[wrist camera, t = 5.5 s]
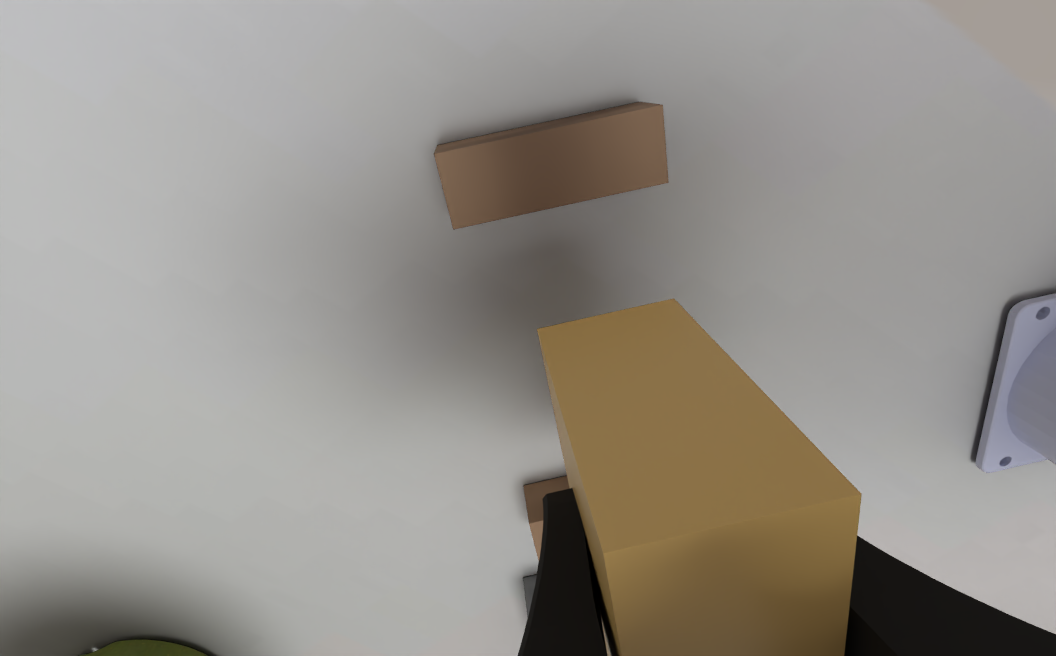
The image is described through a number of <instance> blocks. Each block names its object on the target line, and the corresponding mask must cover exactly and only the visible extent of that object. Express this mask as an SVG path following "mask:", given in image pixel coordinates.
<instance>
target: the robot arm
mask: <svg viewBox="0 0 1056 656" xmlns="http://www.w3.org/2000/svg"><path fill="white" fill-rule="evenodd" d="M1047 459H1049V460H1050V461H1052V462H1053V463H1055V464H1056V293H1054V294H1050V295H1045V296H1041V297H1037V298H1032V299H1028V300H1023V301H1021V302H1018V303H1017V304H1016V305H1014V306H1013V307H1012V308H1011V310H1010V311H1009V314H1008V318H1007V322H1006V327H1005V331H1004V336H1003V340H1002V345H1001V349H1000V354H999V358H998V363H997V367H996V372H995V376H994V381H993V385H992V390H991V394H990V399H989V403H988V408H987V412H986V417H985V421H984V425H983V430H982V434H981V439H980V443H979V448H978V452H977V457H976V466H977V467H978V468H979V469H981V470H982V471H983V472H986V473H990V472H996V471H1000V470H1004V469H1008V468H1013V467H1017V466H1021V465H1026V464H1030V463H1034V462H1039V461H1043V460H1047ZM542 500H543V532H542V543H541V551H540V558H539V564H538V571H537V578H536V583H535V588H534V593H533V597H532V602H531V606H530V611H529V615H528V620H527V624H526V628H525V632H524V635H523V639H522V643H521V646H520V650H519V653H518V656H607V650H606V643H605V637H604V631H603V625H602V619H601V613H600V608H599V603H598V598H597V593H596V588H595V583H594V578H593V573H592V568H591V563H590V558H589V553H588V548H587V543H586V537H585V532H584V527H583V523H582V519H581V516H580V512H579V509H578V505H577V502H576V498H575V495H574V492H573V488H570V489H565V490H561V491H556V492H552V493H548V494H546V495H545V496H544V497H543V499H542ZM844 656H1056V634H1053V633H1051V632H1048V631H1046V630H1043V629H1041V628H1039V627H1036V626H1034V625H1032V624H1029V623H1027V622H1025V621H1022V620H1020V619H1018V618H1015V617H1013V616H1011V615H1009V614H1006V613H1004V612H1002V611H1000V610H998V609H996V608H993V607H991V606H989V605H987V604H985V603H983V602H980V601H978V600H976V599H974V598H972V597H970V596H968V595H965V594H963V593H961V592H959V591H957V590H955V589H953V588H951V587H949V586H947V585H945V584H943V583H941V582H939V581H937V580H935V579H933V578H931V577H929V576H927V575H926V574H924V573H922V572H920V571H918V570H916V569H914V568H913V567H911V566H909V565H907V564H905V563H903V562H901V561H899V560H898V559H896V558H894V557H892V556H890V555H889V554H887V553H885V552H884V551H882V550H880V549H878V548H877V547H875V546H873V545H872V544H870V543H868V542H867V541H865V540H864V539H862V538H860V537H859V536H857V541H856V550H855V559H854V569H853V578H852V587H851V597H850V606H849V615H848V625H847V634H846V643H845V653H844Z"/></svg>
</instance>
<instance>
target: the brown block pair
mask: <svg viewBox="0 0 1056 656" xmlns="http://www.w3.org/2000/svg"><path fill="white" fill-rule="evenodd" d="M434 156H435V160H436V164H437V168H438V172H439V176H440V179H441V183H442V187H443V191H444V195H445V199H446V203H447V207H448V211H449V214H450V218H451V222H452V226H453V229H458V228H463V227H467V226H472V225H476V224H481V223H486V222H490V221H495V220H499V219H504V218H508V217H513V216H518V215H522V214H527V213H531V212H536V211H541V210H545V209H550V208H554V207H559V206H564V205H568V204H573V203H577V202H582V201H586V200H591V199H596V198H600V197H605V196H609V195H614V194H619V193H623V192H628V191H632V190H637V189H641V188H646V187H651V186H655V185H660V184H664V183H668V170H667V157H666V143H665V130H664V116H663V105H660V104H652V103H645V102H636V103H632V104H627V105H622V106H618V107H613V108H608V109H604V110H599V111H594V112H590V113H585V114H580V115H576V116H571V117H566V118H562V119H557V120H553V121H548V122H543V123H539V124H534V125H529V126H525V127H520V128H515V129H511V130H506V131H501V132H497V133H492V134H487V135H483V136H478V137H473V138H469V139H464V140H459V141H455V142H450V143H445V144H441V145H437V147H436V150H435V153H434ZM565 489H570V488H569V483H568V478H567V476H563V477H559V478H555V479H550V480H546V481H542V482H537V483H533V484H528V485H524V493H525V499H526V506H527V512H528V519H529V525H530V529H531V533H532V537H533V540H534V544H535V548H536V552H537V556H538V560H539V558H540V551H541V543H542V532H543V500H542V499H543V497H544V496H545V495H546V494H548V493H552V492H556V491H561V490H565Z"/></svg>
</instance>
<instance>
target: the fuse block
mask: <svg viewBox="0 0 1056 656" xmlns="http://www.w3.org/2000/svg"><path fill="white" fill-rule="evenodd" d="M537 332H538V336H539V341H540V346H541V351H542V356H543V361H544V366H545V371H546V375H547V380H548V385H549V390H550V395H551V400H552V405H553V410H554V415H555V419H556V424H557V429H558V434H559V439H560V444H561V449H562V454H563V458H564V463H565V468H566V473H567V478H568V483H569V488H573V492H574V495H575V498H576V502H577V505H578V509H579V512H580V516H581V519H582V523H583V527H584V532H585V537H586V543H587V548H588V553H589V558H590V563H591V568H592V573H593V578H594V583H595V588H596V593H597V598H598V603H599V608H600V613H601V619H602V625H603V631H604V637H605V643H606V650H607V656H844V653H845V643H846V634H847V625H848V615H849V606H850V597H851V587H852V578H853V569H854V559H855V550H856V541H857V531H858V522H859V513H860V503H861V493H860V492H859V491H858V490H857V489H856V488H855V487H854V486H853V485H852V484H851V483H850V482H849V481H848V480H847V479H846V477H845V476H844V475H843V474H842V473H841V472H840V471H839V470H838V469H837V468H836V467H835V466H834V465H833V464H832V463H831V462H830V461H829V460H828V459H827V458H826V457H825V456H824V455H823V453H822V452H821V451H820V450H819V449H818V448H817V447H816V446H815V445H814V444H813V443H812V442H811V441H810V440H809V439H808V438H807V437H806V436H805V435H804V434H803V433H802V432H801V431H800V430H799V428H798V427H797V426H796V425H795V424H794V423H793V422H792V421H791V420H790V419H789V418H788V417H787V416H786V415H785V414H784V413H783V412H782V411H781V410H780V409H779V408H778V407H777V406H776V404H775V403H774V402H773V401H772V400H771V399H770V398H769V397H768V396H767V395H766V394H765V393H764V392H763V391H762V390H761V389H760V388H759V387H758V386H757V385H756V384H755V383H754V382H753V380H752V379H751V378H750V377H749V376H748V375H747V374H746V373H745V372H744V371H743V370H742V369H741V368H740V367H739V366H738V365H737V364H736V363H735V362H734V361H733V360H732V359H731V358H730V357H729V355H728V354H727V353H726V352H725V351H724V350H723V349H722V348H721V347H720V346H719V345H718V344H717V343H716V342H715V341H714V340H713V339H712V338H711V337H710V336H709V335H708V334H707V333H706V331H705V330H704V329H703V328H702V327H701V326H700V325H699V324H698V323H697V322H696V321H695V320H694V319H693V318H692V317H691V316H690V315H689V314H688V313H687V312H686V311H685V310H684V309H683V308H682V306H681V305H680V304H679V303H678V302H677V301H676V300H675V299H669V300H665V301H660V302H656V303H651V304H647V305H642V306H638V307H633V308H629V309H624V310H620V311H615V312H611V313H606V314H602V315H597V316H593V317H588V318H584V319H579V320H575V321H570V322H566V323H561V324H557V325H552V326H548V327H543V328H539V329H537Z"/></svg>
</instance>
